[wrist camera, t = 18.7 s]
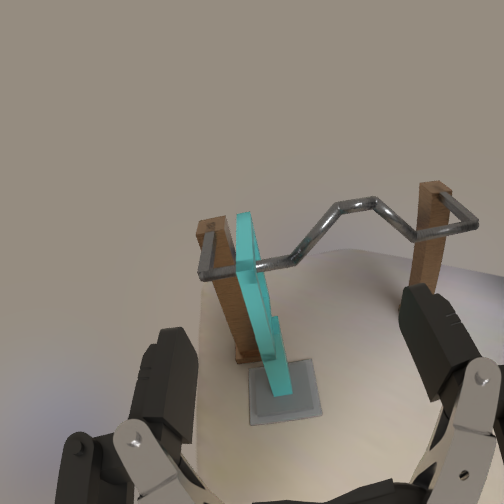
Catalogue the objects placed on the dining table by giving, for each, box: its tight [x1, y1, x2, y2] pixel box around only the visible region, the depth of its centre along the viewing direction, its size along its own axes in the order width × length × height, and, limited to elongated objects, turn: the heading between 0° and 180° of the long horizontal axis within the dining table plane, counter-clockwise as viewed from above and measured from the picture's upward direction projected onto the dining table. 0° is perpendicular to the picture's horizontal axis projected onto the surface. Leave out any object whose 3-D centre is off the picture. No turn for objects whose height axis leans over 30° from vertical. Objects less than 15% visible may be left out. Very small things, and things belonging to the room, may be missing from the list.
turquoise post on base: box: [236, 212, 314, 418], centre depth 30 cm, size 8×7×24 cm
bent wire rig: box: [196, 181, 479, 364], centre depth 33 cm, size 30×11×26 cm, turn 92°
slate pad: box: [249, 359, 322, 426], centre depth 37 cm, size 9×9×1 cm
